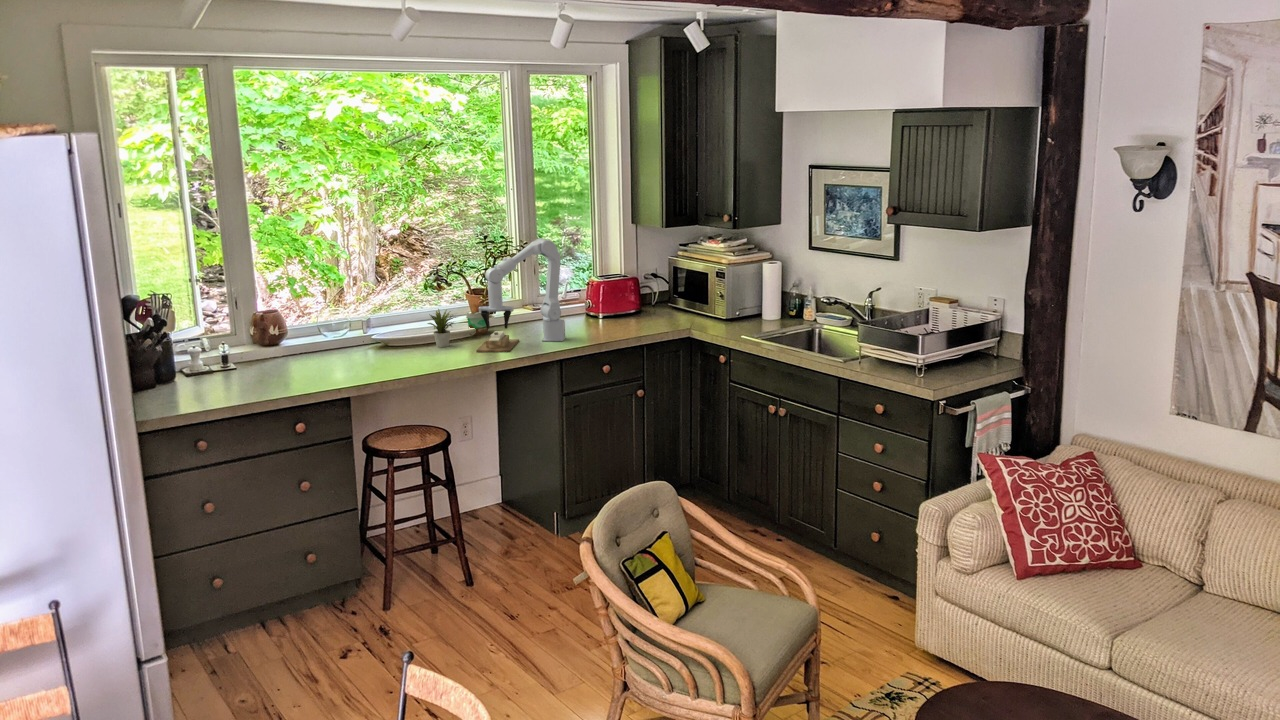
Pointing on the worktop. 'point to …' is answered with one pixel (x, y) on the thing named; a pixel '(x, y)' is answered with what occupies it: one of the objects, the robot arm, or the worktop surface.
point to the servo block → (497, 336)
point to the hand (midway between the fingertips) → (497, 328)
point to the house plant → (442, 328)
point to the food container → (477, 323)
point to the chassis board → (498, 345)
